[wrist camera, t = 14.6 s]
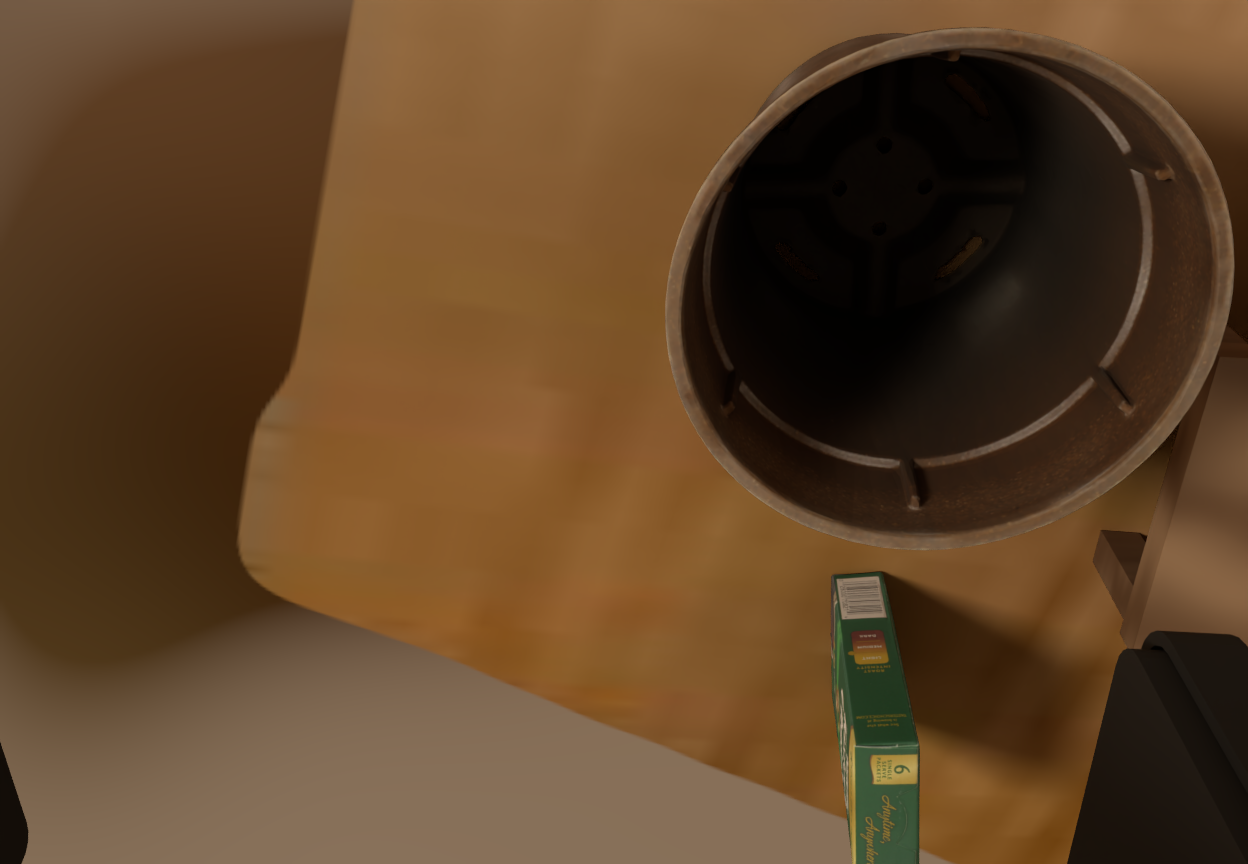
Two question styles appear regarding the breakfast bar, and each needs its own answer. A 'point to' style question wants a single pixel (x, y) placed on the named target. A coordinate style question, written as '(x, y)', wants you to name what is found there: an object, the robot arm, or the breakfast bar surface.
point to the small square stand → (1192, 521)
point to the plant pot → (949, 288)
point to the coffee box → (873, 723)
